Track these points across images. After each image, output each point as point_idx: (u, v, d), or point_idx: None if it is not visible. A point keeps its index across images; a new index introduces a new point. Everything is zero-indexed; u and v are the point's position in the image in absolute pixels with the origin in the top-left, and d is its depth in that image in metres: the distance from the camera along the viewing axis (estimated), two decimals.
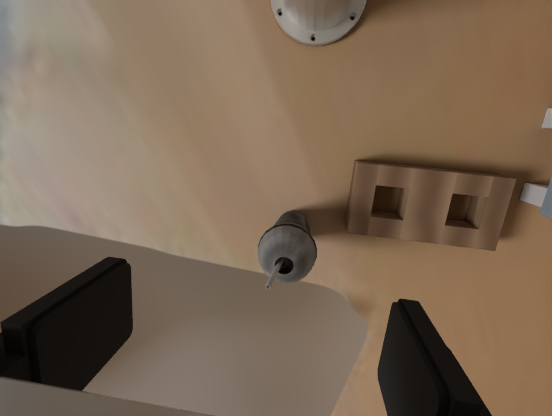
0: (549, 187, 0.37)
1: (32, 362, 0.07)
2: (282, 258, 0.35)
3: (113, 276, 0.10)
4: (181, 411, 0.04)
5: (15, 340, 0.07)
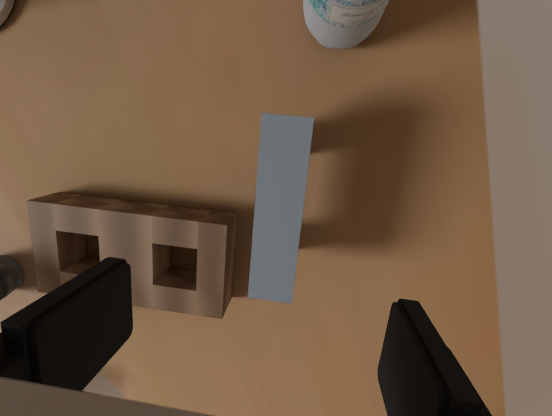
0: None
1: (32, 362, 0.07)
2: None
3: (113, 276, 0.10)
4: (181, 411, 0.04)
5: (15, 340, 0.07)
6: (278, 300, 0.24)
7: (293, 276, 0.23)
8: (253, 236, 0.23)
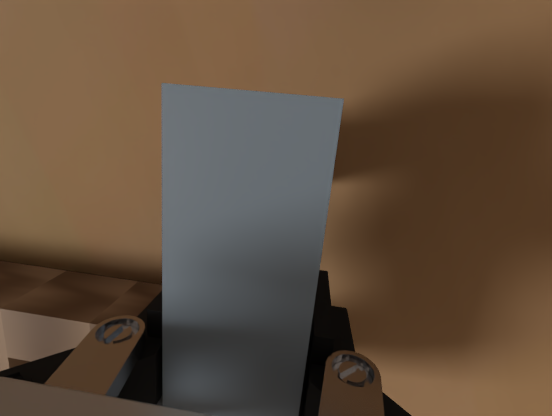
0: None
1: None
2: None
3: None
4: (181, 411, 0.04)
5: (158, 325, 0.08)
6: None
7: None
8: None
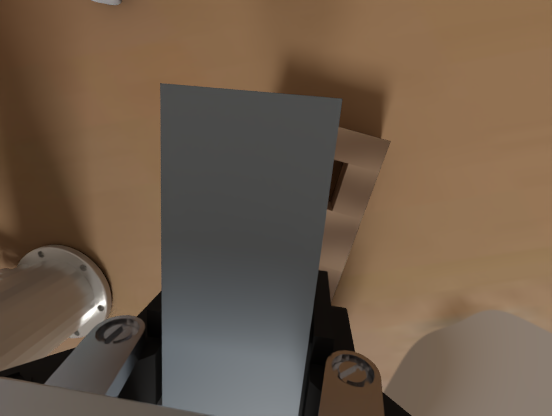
0: None
1: None
2: None
3: None
4: (181, 411, 0.04)
5: (158, 325, 0.08)
6: None
7: None
8: None
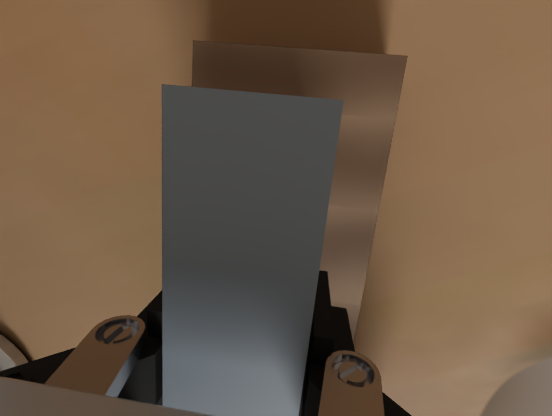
0: None
1: None
2: None
3: None
4: (181, 411, 0.04)
5: (158, 325, 0.08)
6: None
7: None
8: None
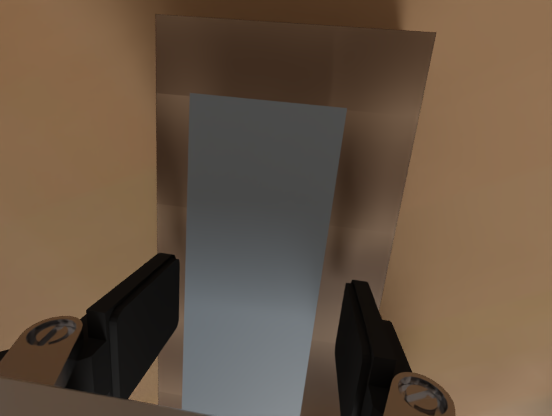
0: None
1: (112, 346, 0.08)
2: None
3: (168, 270, 0.10)
4: (181, 411, 0.04)
5: (98, 326, 0.08)
6: None
7: None
8: (184, 406, 0.09)
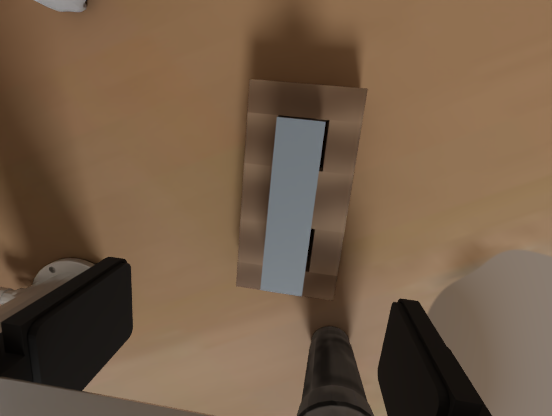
0: None
1: (32, 362, 0.07)
2: None
3: (113, 276, 0.10)
4: (181, 411, 0.04)
5: (15, 340, 0.07)
6: (289, 293, 0.25)
7: (303, 270, 0.24)
8: (266, 232, 0.24)
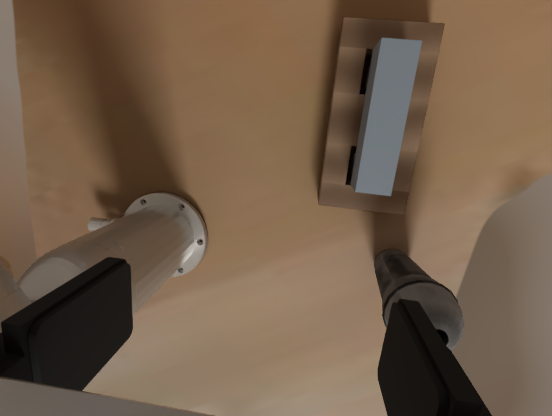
0: (355, 154, 0.33)
1: (32, 362, 0.07)
2: None
3: (113, 276, 0.10)
4: (181, 411, 0.04)
5: (15, 340, 0.07)
6: (380, 193, 0.30)
7: (394, 172, 0.29)
8: (365, 139, 0.29)
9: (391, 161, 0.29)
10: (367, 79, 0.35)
